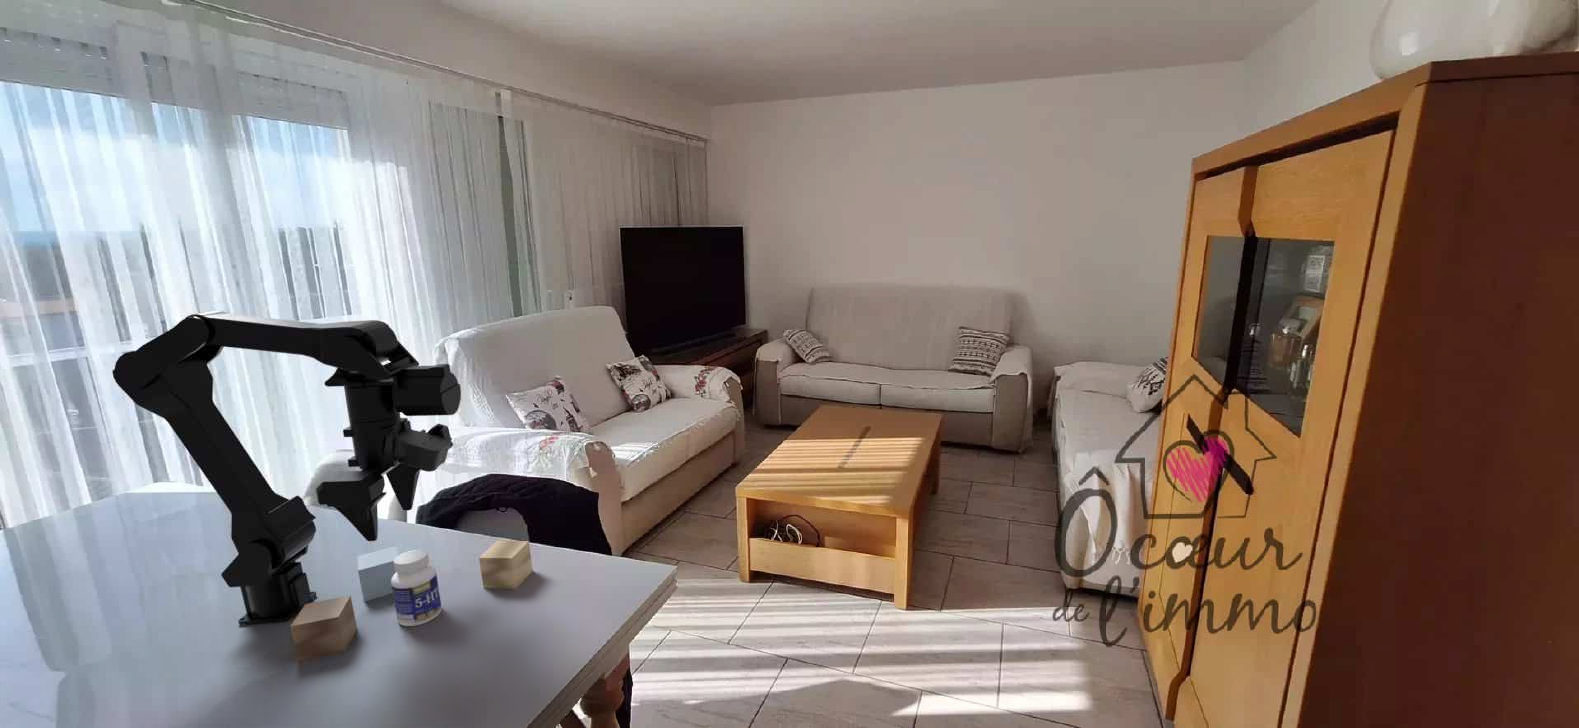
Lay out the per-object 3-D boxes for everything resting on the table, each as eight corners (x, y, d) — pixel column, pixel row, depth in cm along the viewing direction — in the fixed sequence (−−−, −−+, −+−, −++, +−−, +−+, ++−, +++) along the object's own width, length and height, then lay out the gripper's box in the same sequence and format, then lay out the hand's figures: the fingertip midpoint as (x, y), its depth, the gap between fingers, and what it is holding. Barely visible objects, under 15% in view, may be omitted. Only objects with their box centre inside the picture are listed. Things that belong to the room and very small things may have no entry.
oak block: (483, 588, 93) (478, 557, 92) (501, 570, 98) (497, 540, 97) (516, 589, 93) (511, 558, 92) (532, 571, 97) (528, 541, 96)
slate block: (364, 602, 91) (357, 570, 90) (363, 586, 95) (357, 556, 94) (404, 590, 93) (399, 559, 92) (402, 575, 97) (396, 545, 96)
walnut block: (298, 662, 78) (290, 626, 77) (312, 638, 83) (305, 604, 82) (345, 652, 80) (338, 616, 79) (357, 629, 84) (350, 595, 83)
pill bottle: (422, 629, 84) (411, 568, 82) (388, 625, 85) (377, 565, 83) (451, 606, 89) (441, 548, 87) (418, 602, 90) (408, 545, 88)
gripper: (402, 437, 76) (418, 556, 79) (466, 396, 94) (477, 494, 98) (304, 440, 75) (325, 560, 79) (388, 398, 93) (402, 497, 97)
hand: (391, 524), depth 88 cm, fingers open, 9 cm apart
